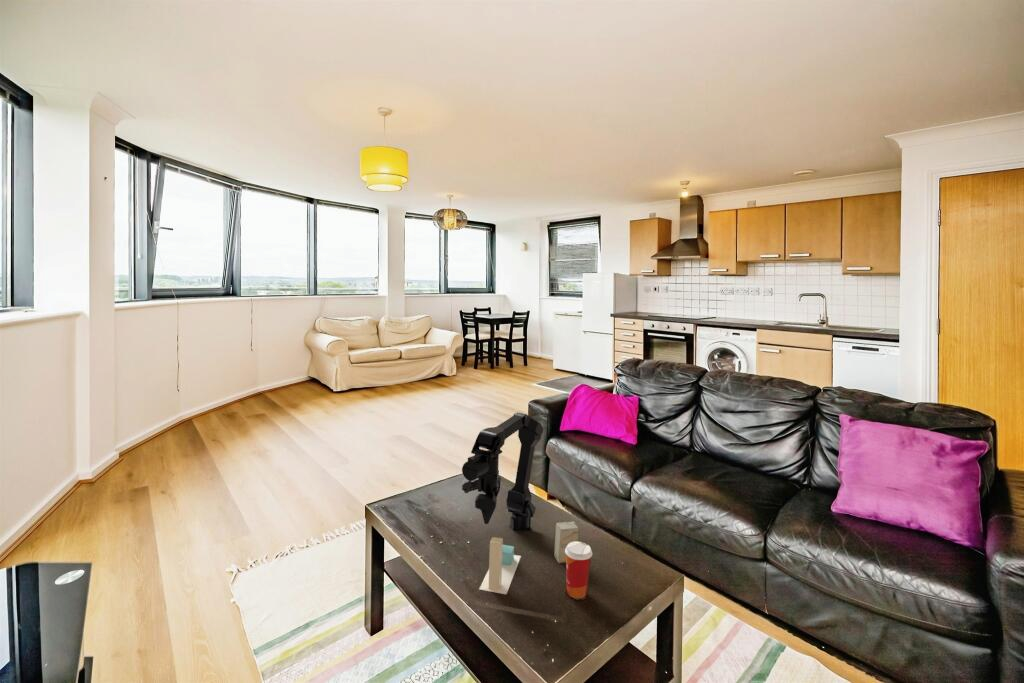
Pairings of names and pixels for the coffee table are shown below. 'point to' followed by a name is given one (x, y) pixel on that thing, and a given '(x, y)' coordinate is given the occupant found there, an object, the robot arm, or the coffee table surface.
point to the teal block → (507, 554)
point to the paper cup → (577, 568)
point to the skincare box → (564, 538)
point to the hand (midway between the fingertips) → (488, 516)
